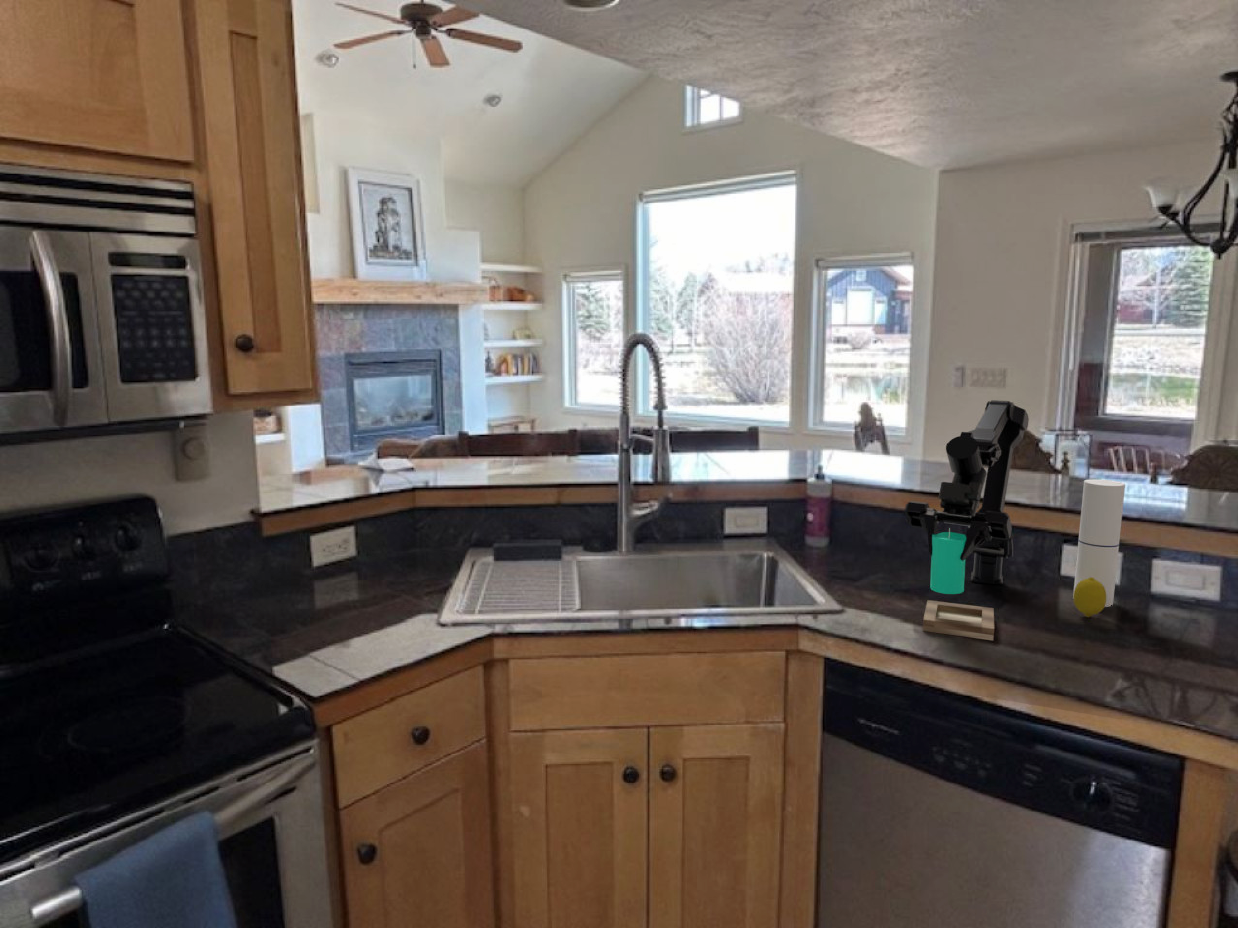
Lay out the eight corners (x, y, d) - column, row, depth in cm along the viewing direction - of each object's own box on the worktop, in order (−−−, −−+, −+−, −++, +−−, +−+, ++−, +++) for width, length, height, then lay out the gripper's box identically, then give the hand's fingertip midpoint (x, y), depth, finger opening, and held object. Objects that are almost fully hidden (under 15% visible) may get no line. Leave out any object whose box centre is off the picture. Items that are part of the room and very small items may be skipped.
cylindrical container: (1075, 604, 165) (1087, 484, 161) (1070, 593, 172) (1081, 478, 168) (1115, 608, 162) (1128, 486, 158) (1109, 598, 169) (1121, 480, 165)
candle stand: (926, 610, 162) (927, 600, 161) (992, 619, 157) (993, 608, 156) (922, 630, 151) (923, 619, 150) (993, 640, 146) (994, 628, 146)
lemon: (1095, 612, 160) (1099, 573, 159) (1109, 622, 155) (1113, 582, 154) (1066, 611, 161) (1070, 572, 160) (1079, 621, 155) (1083, 581, 154)
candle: (955, 583, 157) (958, 523, 155) (969, 593, 151) (972, 531, 149) (924, 584, 157) (927, 524, 155) (938, 594, 151) (940, 532, 149)
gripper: (909, 460, 159) (887, 526, 152) (1012, 470, 148) (993, 542, 141) (920, 493, 166) (899, 557, 160) (1019, 504, 155) (1001, 574, 148)
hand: (945, 557), depth 152 cm, fingers closed on candle, 5 cm apart
